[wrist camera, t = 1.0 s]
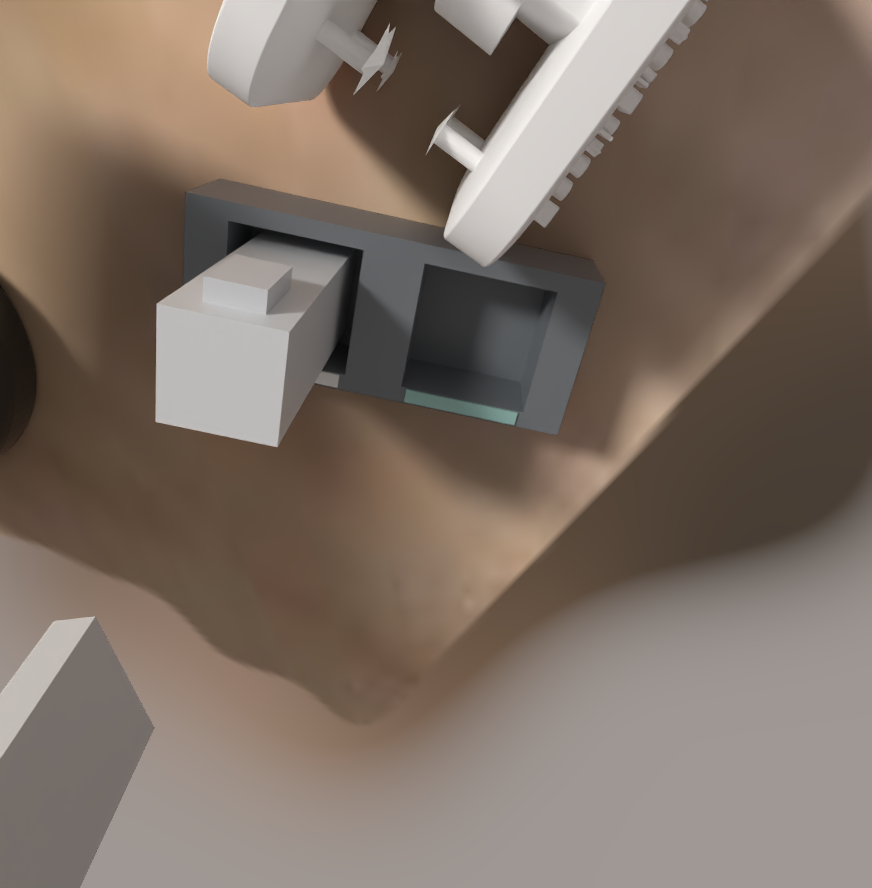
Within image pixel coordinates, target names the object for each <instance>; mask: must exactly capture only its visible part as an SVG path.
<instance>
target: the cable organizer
mask: <svg viewBox="0 0 872 888" xmlns="http://www.w3.org/2000/svg"><path fill="white" fill-rule="evenodd" d="M705 1H706V2H707V1H709V0H705ZM376 2H377V0H224V1H223V4H222V6H221V9H220V11H219V14H218V17H217V20H216V23H215V26H214V29H213V33H212V36H211V40H210V45H209V50H208V58H207V69H208V74H209V76H210V77H211V79H213V80H214V81H215V82H217V83H218V84H219V85H221V86H222V87H224V88H225V89H226V90H228V91H229V92H231V93H232V94H233V95H235V96H236V97H237V98H239V99H240V100H242V101H243V102H244V103H246V104H247V105H249V106H250V107H260V106H268V105H275V104H283V103H291V102H299V101H307V100H312V99H314V98H316V97H317V96H318V95H319V94H320V93H321V92H322V91H323V90H324V89H325V88H326V86H327V85H328V84H329V82H330V81H331V80H332V78H333V77H334V76H335V74H336V73H337V71H338V70H339V68H340V67H341V65H342V63H343V62H344V61H345V62H346V63H348V64H349V65H350V66H352V67H353V68H354V69H356V70H357V71H358V72H360V73H361V74H362V78H361V80H360V82H359V84H358V86H357V88H356V90H355V92H354V94H355V93H356V92H357V91H358V90H359V89H360V88H361V87H362V86H363V85H364V84H365V83H366V82H367V81H368V80H369V79H370V78H371V77H372V76H373V75H374V74H375V73H376V72H377V71H378V70H379V71H380V72H382V73H383V74H382V76H381V78H382V81H381V83H380V86H379V88H378V90H379V89H380V88H381V86H382V85H383V84H384V83H385V82H386V80H387V79H388V78H389V77H390V76H391V75H392V73H393V72H394V70H395V67H396V65H397V63H398V61H399V59H400V56H401V54H402V53H401V54H400V55H399V56H398V57H397V53H396V54H395V56H394V57H392V56H391V55H390V54H389V53H388V50H389V47H390V44H391V41H392V38H393V35H394V32H395V29H396V27H395V28H394V29H393V30H392V31H391V32H390V33H389V26H390V23H389V25H388V27H387V29H386V31H385V33H384V35H383V36H382V38H381V40H380V42H379V44H378V45H377V44H376V43H374V42H373V41H372V40H371V39H369V38H368V37H367V36H365V35H364V34H363V33H362V32H360V31H361V30H362V28H363V26H364V24H365V22H366V21H367V19H368V17H369V15H370V13H371V11H372V10H373V8H374V6H375V4H376ZM706 8H707V6H706V5H705V4H703V3H702V2H701V1H700V0H435V5H434V10H435V12H437V13H438V14H439V15H440V16H442V17H443V18H444V19H445V20H447V21H448V22H449V23H450V24H452V25H453V26H454V27H455V28H457V29H458V30H459V31H460V32H462V33H463V34H464V35H465V36H466V37H468V38H469V39H470V40H471V41H473V42H474V43H475V44H476V45H478V46H479V47H480V48H481V49H483V50H484V51H485V52H486V53H488V54H489V55H491V54H492V53H493V51H494V50H495V49H496V47H497V46H498V44H499V43H500V41H501V40H502V38H503V37H504V35H505V34H506V32H507V31H508V29H509V27H510V26H511V24H512V23H513V21H514V20H515V18H517V19H518V20H520V21H521V22H522V23H523V24H524V25H526V26H527V27H528V28H529V29H530V30H532V31H533V32H534V33H535V34H536V35H538V36H539V37H540V38H541V39H542V40H544V41H545V42H546V43H548V44H549V46H548V47H547V49H546V50H545V52H544V53H543V55H542V56H541V58H540V59H539V61H538V62H537V64H536V65H535V67H534V68H533V70H532V71H531V73H530V74H529V76H528V77H527V79H526V80H525V82H524V83H523V85H522V86H521V88H520V89H519V91H518V92H517V94H516V95H515V97H514V98H513V100H512V101H511V103H510V104H509V106H508V107H507V109H506V110H505V112H504V113H503V114H502V116H501V117H500V119H499V120H498V122H497V123H496V125H495V126H494V128H493V129H492V131H491V132H490V134H489V135H488V137H487V138H486V140H483V139H482V138H481V137H480V136H478V135H477V134H476V133H474V132H473V131H472V130H471V129H469V128H468V127H467V126H465V125H464V124H463V123H461V122H460V121H459V120H458V119H456V118H455V117H454V115H455V113H456V111H457V110H458V108H459V107H460V105H459V106H458V107H457V108H456V109H455V110H454V111H453V112H452V113H451V114H450V115H449V116H448V117H447V118H446V119H445V120H444V121H443V122H442V123H441V124H440V125H439V126H438V127H437V129H436V131H435V134H434V136H433V139H432V141H431V143H430V146H429V148H428V151H429V150H430V148H431V146H432V145H433V143H434V144H436V145H437V146H438V147H440V148H441V149H442V150H444V151H445V152H446V153H448V154H449V155H450V156H452V157H453V158H454V159H456V160H457V161H458V162H460V163H461V164H462V165H463V166H465V167H466V168H467V171H466V173H465V174H464V176H463V178H462V180H461V182H460V184H459V187H458V189H457V192H456V194H455V198H454V201H453V204H452V207H451V211H450V214H449V217H448V221H447V224H446V227H445V231H444V238H445V240H447V241H448V242H449V243H451V244H452V245H454V246H455V247H456V248H458V249H459V250H461V251H462V252H463V253H465V254H466V255H467V256H469V257H470V258H472V259H473V260H474V261H476V262H477V263H478V264H480V265H481V266H483V267H487V266H489V265H491V264H492V263H494V262H495V261H496V260H498V259H499V258H500V257H501V256H502V255H503V254H504V253H505V252H506V251H507V250H508V249H509V248H510V247H511V246H512V245H513V244H514V243H515V242H516V240H517V239H518V238H519V237H520V236H521V235H522V234H523V232H524V231H525V230H526V229H527V228H528V226H529V225H530V224H531V223H532V221H533V220H535V221H536V222H537V223H539V224H540V225H541V226H543V227H544V228H545V227H546V226H547V225H548V223H549V222H550V221H551V219H552V218H553V217H554V215H555V214H556V213H557V211H558V210H559V209H560V208H559V207H558V206H557V205H556V204H554V203H553V202H552V201H550V200H549V199H550V197H551V196H554V197H555V198H556V199H558V200H559V201H562V200H563V199H564V198H565V197H566V196H567V194H568V193H569V192H570V190H571V188H572V186H573V182H572V181H571V180H569V179H568V178H567V177H566V176H567V174H568V173H571V174H572V175H573V176H574V177H576V178H579V177H580V176H581V175H582V174H583V173H584V172H585V171H586V169H587V168H588V166H589V164H590V161H591V159H590V158H589V157H587V156H586V155H585V154H584V151H585V150H586V151H587V152H588V153H590V154H591V155H592V156H593V157H596V156H597V155H598V154H600V153H601V151H600V150H601V149H602V148H603V146H604V144H603V143H601V142H600V141H599V140H598V139H596V138H595V137H596V135H597V134H599V135H600V136H601V137H603V138H605V139H606V140H608V141H610V142H611V141H612V140H613V137H612V136H611V135H612V134H613V133H614V132H615V131H616V129H617V128H618V126H619V125H620V121H619V120H618V119H617V118H615V117H614V116H613V115H612V114H613V112H614V111H615V110H616V108H617V109H618V110H619V111H620V112H623V113H626V114H630V115H631V113H632V112H633V111H634V109H635V108H636V107H637V105H638V104H639V102H640V101H641V99H642V97H643V95H642V94H641V93H640V92H639V91H638V90H636V89H635V88H634V87H633V85H634V84H635V85H636V86H638V87H639V88H648V87H649V83H651V82H652V81H653V80H654V79H655V77H656V76H657V75H658V74H657V73H655V72H654V71H658V70H659V69H661V68H662V67H663V66H664V65H665V64H666V63H667V61H668V60H669V59H670V57H671V56H672V54H673V52H674V50H673V49H672V48H671V47H670V46H669V45H667V44H666V43H665V42H666V41H667V39H668V38H669V39H670V40H671V41H673V42H674V43H677V44H678V45H680V44H681V43H682V41H684V40H686V39H687V38H688V33H689V32H690V31H691V30H690V29H689V27H691V26H692V25H694V24H695V23H696V22H697V21H698V20H699V19H700V17H701V16H702V15H703V14H704V12H705V10H706ZM388 33H389V34H388ZM397 52H398V51H397ZM396 57H397V58H396ZM652 69H653V70H654V71H653V70H652ZM378 90H377V91H378ZM354 94H353V95H354ZM428 151H427V153H428ZM427 153H426V154H427ZM425 156H426V155H425Z"/></svg>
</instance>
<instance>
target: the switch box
mask: <svg viewBox="0 0 872 888" xmlns="http://www.w3.org/2000/svg"><path fill="white" fill-rule="evenodd" d="M266 229H269V230H273V231H278V232H283V233H287V234H292V235H296V236H301V237H306V238H310V239H315V240H319V241H324V242H329V243H333V244H338V245H342V246H347V247H351V248H356V249H357V252H356V259H355V266H354V273H353V280H352V287H351V294H350V301H349V308H348V315H347V322H346V329H345V331H344V333H343V335H342V336H341V338H340V340H339V342H338V343H337V345H336V347H335V348H334V350H333V352H332V354H331V355H330V357H329V359H328V361H327V362H326V364H325V366H324V368H323V369H322V371H321V373H320V374H319V376H318V378H317V380H316V381H315V383H314V384H316V385H321V386H326V387H330V388H335V389H340V390H345V391H349V392H354V393H359V394H363V395H368V396H373V397H378V398H382V399H387V400H392V401H397V402H401V403H406V404H411V405H416V406H420V407H425V408H430V409H434V410H439V411H444V412H449V413H453V414H458V415H463V416H468V417H472V418H477V419H482V420H487V421H491V422H496V423H501V424H505V425H510V426H515V427H520V428H524V429H529V430H534V431H539V432H543V433H548V434H553V435H558V431H559V428H560V425H561V422H562V419H563V416H564V413H565V409H566V406H567V403H568V400H569V397H570V394H571V391H572V387H573V384H574V381H575V378H576V375H577V372H578V369H579V365H580V362H581V359H582V356H583V353H584V350H585V347H586V343H587V340H588V337H589V334H590V331H591V328H592V325H593V321H594V318H595V315H596V312H597V309H598V306H599V303H600V299H601V296H602V293H603V290H604V287H605V284H606V283H605V282H604V280H603V278H602V276H601V274H600V273H599V271H598V269H597V267H596V265H595V264H594V262H593V260H588V259H584V258H579V257H575V256H570V255H566V254H561V253H557V252H552V251H547V250H543V249H538V248H534V247H529V246H525V245H520V244H516V243H514V244H513V245H512V246H511V247H510V248H509V249H508V250H507V251H506V252H505V253H504V254H503V255H502V256H501V257H500V258H499V259H498V260H496V261H495V262H494V263H492V264H491V265H489V266H487V267H483V266H481V265H480V264H478V263H477V262H476V261H474V260H473V259H472V258H470V257H469V256H467V255H466V254H465V253H463V252H462V251H461V250H459V249H458V248H456V247H455V246H454V245H452V244H451V243H449V242H448V241H447V240H445V238H444V231H445V228H443V227H438V226H433V225H429V224H424V223H420V222H415V221H411V220H406V219H402V218H397V217H392V216H388V215H383V214H379V213H374V212H370V211H365V210H361V209H356V208H351V207H347V206H342V205H338V204H333V203H329V202H324V201H319V200H315V199H310V198H306V197H301V196H297V195H292V194H288V193H283V192H278V191H274V190H269V189H265V188H260V187H256V186H251V185H247V184H242V183H237V182H233V181H228V180H224V179H218V180H215V181H213V182H210V183H207V184H205V185H202V186H199V187H197V188H194V189H191V190H189V191H186V192H185V223H184V260H183V285H185V284H186V283H188V282H189V281H191V280H192V279H194V278H195V277H197V276H198V275H200V274H201V273H203V272H204V271H206V270H207V269H209V268H210V267H211V266H213V265H214V264H216V263H217V262H219V261H220V260H222V259H223V258H225V257H226V256H228V255H229V254H231V253H232V252H234V251H235V250H237V249H238V248H240V247H241V246H242V245H244V244H245V243H247V242H248V241H250V240H251V239H253V238H254V237H256V236H257V235H259V234H260V233H262V232H263V231H265V230H266Z"/></svg>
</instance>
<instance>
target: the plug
mask: <svg viewBox="0 0 872 888" xmlns="http://www.w3.org/2000/svg"><path fill="white" fill-rule="evenodd" d="M356 252H357V249H356V248H351V247H347V246H342V245H338V244H333V243H329V242H324V241H319V240H315V239H310V238H306V237H301V236H296V235H292V234H287V233H283V232H278V231H273V230H269V229H266V230H265V231H263V232H262V233H260V234H259V235H257V236H256V237H254V238H253V239H251V240H250V241H248V242H247V243H245V244H244V245H242V246H241V247H240V248H238V249H237V250H235V251H234V252H232V253H231V254H229V255H228V256H226V257H225V258H223V259H222V260H220V261H219V262H217V263H216V264H214V265H213V266H211V267H210V268H209V269H207V270H206V271H204V272H203V273H201V274H200V275H198V276H197V277H195V278H194V279H192V280H191V281H189V282H188V283H186V284H185V285H183V286H182V287H180V288H179V289H178V290H176V291H175V292H173V293H172V294H170V295H169V296H167V297H166V298H164V299H163V300H161V301H160V302H158V303H157V318H156V422H158V423H163V424H168V425H173V426H178V427H182V428H187V429H192V430H197V431H202V432H206V433H211V434H216V435H221V436H226V437H230V438H235V439H240V440H245V441H250V442H254V443H259V444H264V445H269V446H274V447H278V445H279V444H280V442H281V440H282V438H283V437H284V435H285V433H286V432H287V430H288V428H289V426H290V425H291V423H292V421H293V419H294V418H295V416H296V414H297V412H298V411H299V409H300V407H301V406H302V404H303V402H304V400H305V399H306V397H307V395H308V393H309V392H310V390H311V388H312V387H313V385H314V383H315V381H316V380H317V378H318V376H319V374H320V373H321V371H322V369H323V368H324V366H325V364H326V362H327V361H328V359H329V357H330V355H331V354H332V352H333V350H334V348H335V347H336V345H337V343H338V342H339V340H340V338H341V336H342V335H343V333H344V331H345V329H346V322H347V315H348V308H349V301H350V294H351V287H352V280H353V273H354V266H355V259H356Z"/></svg>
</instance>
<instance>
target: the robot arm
mask: <svg viewBox="0 0 872 888" xmlns="http://www.w3.org/2000/svg"><path fill="white" fill-rule="evenodd" d="M35 389H36V378H35V367H34V361H33V356H32V352H31V348H30V344H29V341H28V338H27V335H26V332H25V330H24V328H23V325H22V323H21V321H20V319H19V317H18V315H17V313H16V311H15V309H14V307H13V305H12V304H11V302H10V300H9V299H8V297H7V296H6V294H5V293H4V291H3V289H2V288H1V287H0V456H1V455H2V454H3V453H4V452H6V451H7V450H8V449H9V448H10V447H11V446H12V445H13V444H14V443H15V442H16V441H17V440H18V438H19V437H20V436H21V434H22V433H23V431H24V429H25V427H26V425H27V423H28V421H29V419H30V416H31V413H32V409H33V405H34V399H35ZM153 730H154V726H153V724H152V722H151V720H150V718H149V716H148V715H147V713H146V711H145V709H144V707H143V705H142V703H141V701H140V700H139V698H138V696H137V694H136V692H135V690H134V688H133V686H132V684H131V682H130V681H129V679H128V677H127V675H126V673H125V671H124V669H123V667H122V665H121V664H120V662H119V660H118V658H117V656H116V654H115V652H114V650H113V648H112V646H111V645H110V643H109V641H108V639H107V637H106V635H105V633H104V631H103V630H102V628H101V626H100V624H99V622H98V620H97V618H96V616H94V617H86V618H78V619H69V620H60V621H54V622H53V623H52V624H51V626H50V627H49V629H48V630H47V631H46V632H45V634H44V635H43V637H42V638H41V639H40V641H39V642H38V643H37V645H36V646H35V647H34V649H33V650H32V652H31V653H30V654H29V656H28V657H27V658H26V660H25V661H24V662H23V664H22V665H21V666H20V668H19V669H18V670H17V672H16V673H15V674H14V676H13V677H12V679H11V680H10V681H9V683H8V684H7V685H6V687H5V688H4V689H3V691H2V692H1V694H0V888H80V886H81V884H82V882H83V880H84V878H85V875H86V873H87V871H88V869H89V867H90V865H91V863H92V860H93V858H94V856H95V854H96V852H97V849H98V848H99V845H100V843H101V841H102V839H103V837H104V835H105V832H106V830H107V828H108V826H109V824H110V822H111V820H112V818H113V816H114V813H115V811H116V809H117V807H118V805H119V803H120V801H121V798H122V796H123V794H124V792H125V790H126V788H127V785H128V783H129V781H130V779H131V777H132V775H133V773H134V770H135V768H136V766H137V764H138V762H139V760H140V758H141V756H142V753H143V751H144V749H145V747H146V745H147V743H148V741H149V738H150V736H151V734H152V732H153Z"/></svg>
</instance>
